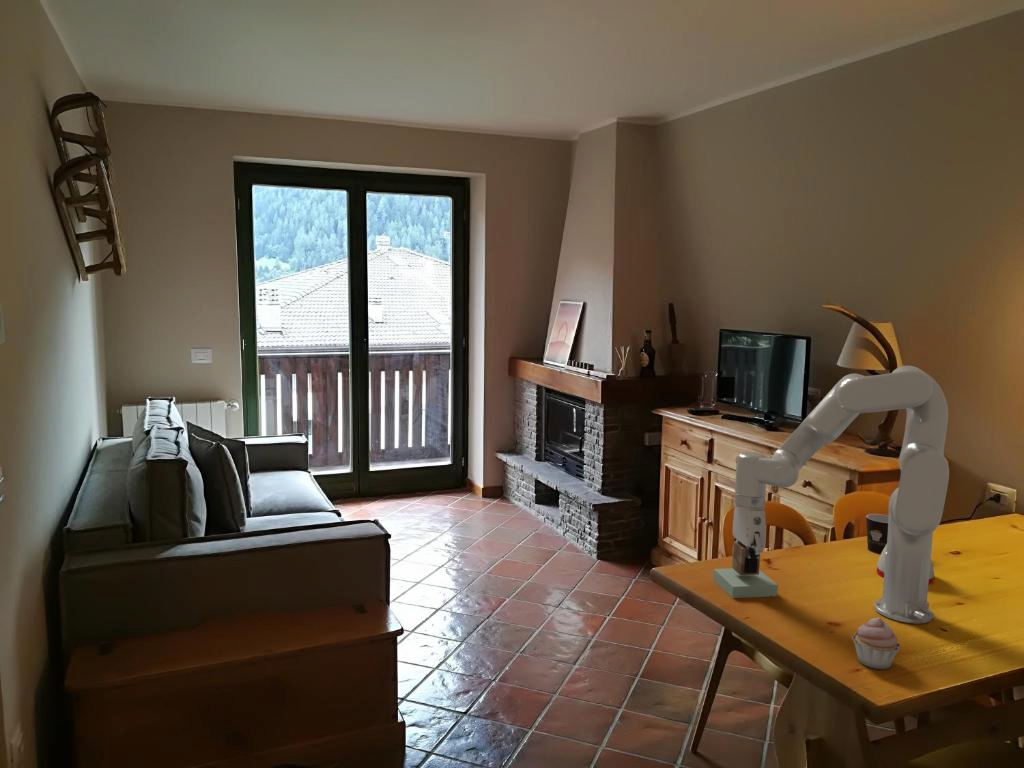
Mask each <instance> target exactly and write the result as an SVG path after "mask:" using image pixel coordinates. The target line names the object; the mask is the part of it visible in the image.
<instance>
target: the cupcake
mask: <svg viewBox="0 0 1024 768" xmlns="http://www.w3.org/2000/svg"><path fill="white" fill-rule="evenodd" d="M850 638H852V641H853V643H854V647H855V651H856V656H857V660H858V662H859V663H860V664H862V665H863V666H865V667H868V668H871V669H874V670H888V669H890V667H892V664H893V662H894V659H895V656H896V654H897V653H898V652H899V650H900V648H901V647H902V645H901V644H899V643H898V637H897V635H896V633H894V630H893V628H892V627H891V626H890V625H889V624H888V623H887V622H886V621H884V620H883V619H881V617H873V618H870V619H869V620H868V621H867V622H865V623H864V624H862V625H860V626H859V627H858V628H857V632H854V635H852V636H851V637H850Z"/></svg>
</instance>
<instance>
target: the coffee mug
mask: <svg viewBox="0 0 1024 768" xmlns="http://www.w3.org/2000/svg"><path fill="white" fill-rule="evenodd" d="M888 516H889V514H888V515H887V514H880V513H869V514H866V515H865V520H866V522H865V524H866V541H867V550H868V551H869V552H870V553H874V554H878V555H881V553H882V551H883V549H884V548H885V545H886V544H887V537H888Z"/></svg>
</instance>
